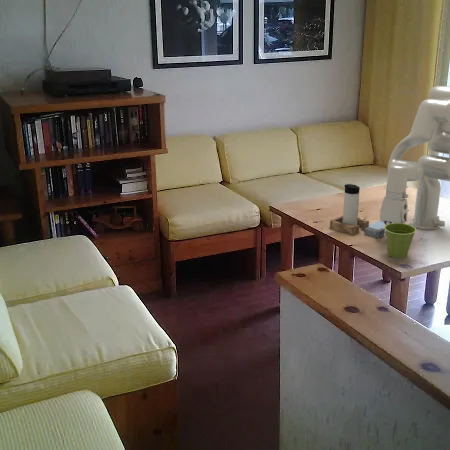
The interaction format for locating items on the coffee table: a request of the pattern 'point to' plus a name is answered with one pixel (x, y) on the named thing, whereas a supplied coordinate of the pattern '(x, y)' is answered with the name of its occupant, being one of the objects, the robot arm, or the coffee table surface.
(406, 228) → the plant pot
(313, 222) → the coffee table surface
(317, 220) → the coffee table surface
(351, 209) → the travel mug
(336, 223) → the wooden tray
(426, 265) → the coffee table surface
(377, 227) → the pad
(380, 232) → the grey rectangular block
